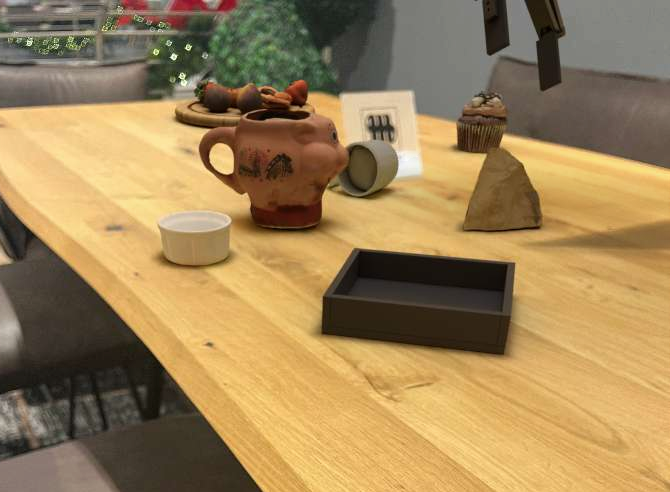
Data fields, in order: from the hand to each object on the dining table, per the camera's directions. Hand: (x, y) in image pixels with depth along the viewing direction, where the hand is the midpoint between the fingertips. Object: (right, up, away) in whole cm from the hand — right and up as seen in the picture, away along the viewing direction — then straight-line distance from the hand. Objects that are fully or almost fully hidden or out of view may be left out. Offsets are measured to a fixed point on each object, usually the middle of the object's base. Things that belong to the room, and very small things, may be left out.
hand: (525, 69), depth 97 cm
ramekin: (-41, -25, -2) cm, 48 cm away
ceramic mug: (-19, -6, +25) cm, 32 cm away
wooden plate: (-41, +33, +79) cm, 95 cm away
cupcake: (+7, +14, +53) cm, 55 cm away
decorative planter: (-32, -16, +10) cm, 37 cm away
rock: (0, -17, +9) cm, 19 cm away
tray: (-16, -35, -17) cm, 42 cm away
